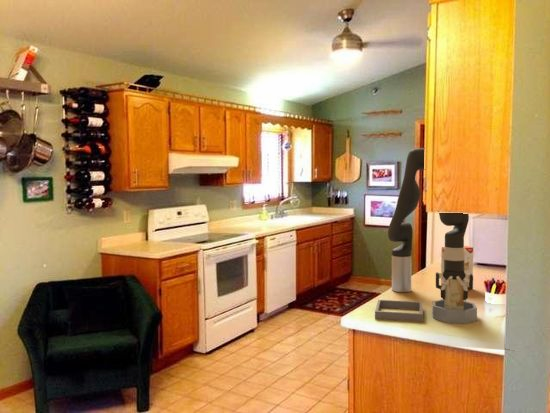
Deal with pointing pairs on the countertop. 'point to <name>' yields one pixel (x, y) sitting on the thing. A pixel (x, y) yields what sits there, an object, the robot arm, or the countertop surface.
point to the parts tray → (399, 315)
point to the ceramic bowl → (454, 313)
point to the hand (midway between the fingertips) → (453, 299)
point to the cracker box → (467, 263)
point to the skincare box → (454, 295)
